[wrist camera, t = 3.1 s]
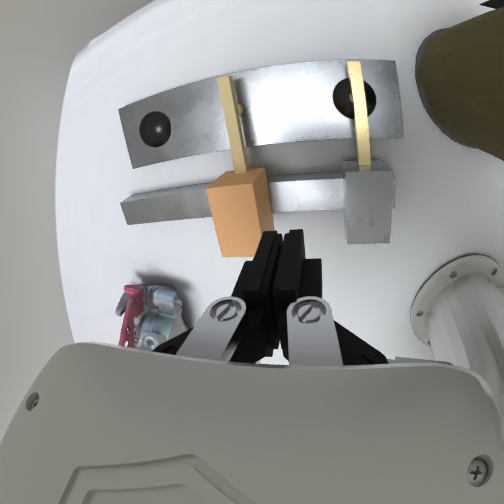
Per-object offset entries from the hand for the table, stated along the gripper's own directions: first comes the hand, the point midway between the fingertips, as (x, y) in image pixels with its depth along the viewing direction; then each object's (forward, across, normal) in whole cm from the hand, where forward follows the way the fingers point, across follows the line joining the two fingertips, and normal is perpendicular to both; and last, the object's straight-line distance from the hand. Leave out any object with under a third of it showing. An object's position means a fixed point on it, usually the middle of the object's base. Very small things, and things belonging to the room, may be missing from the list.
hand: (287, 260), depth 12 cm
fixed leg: (+10, -5, -3) cm, 12 cm away
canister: (+12, -15, -8) cm, 21 cm away
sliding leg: (+10, +4, -3) cm, 11 cm away
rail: (+12, +5, +1) cm, 13 cm away
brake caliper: (+12, +18, +14) cm, 26 cm away
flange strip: (+12, +3, -6) cm, 14 cm away
